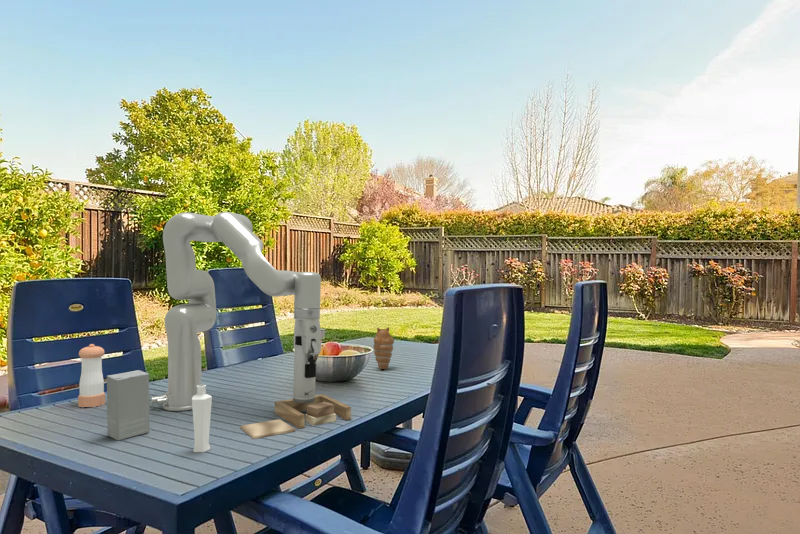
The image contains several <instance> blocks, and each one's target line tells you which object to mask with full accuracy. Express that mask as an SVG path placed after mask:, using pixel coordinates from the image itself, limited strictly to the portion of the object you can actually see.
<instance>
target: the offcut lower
mask: <svg viewBox="0 0 800 534" xmlns="http://www.w3.org/2000/svg"><path fill="white" fill-rule="evenodd" d="M334 421H336V422H337V415H336V414H335V413H333V414H330V415H326V416H322V417H319V418H315V417H312V416H309V415H307V413H305V423H307V422H308V423H307V424H309V425H311V426H312V425H315V426H319V425H318V424H321V425H324V423H326V424H330V423H329V422H332V423H335V422H334Z"/></svg>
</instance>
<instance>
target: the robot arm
mask: <svg viewBox="0 0 800 534" xmlns="http://www.w3.org/2000/svg"><path fill="white" fill-rule="evenodd" d="M253 227H254V226H253V224H252V221H251V220H250V219H249V218H248V217H247V216H246V215H244V214H240V213H235V212H231V211H221V212H218V213H217V214H216V215H207V214H202V213H201V214H200V213H196V212H195V213H194V212H180V213H176V214H175V215H173V216H172V217H170V219H169V220H167V222H166V224H165V225H164V228H163V232H162V243H163V248H164V255H165V270H166V283H167V285H166V286H167V291H168V294H169V296H170V297H172V299H175V300H182V301H186V300H188V303H181V304H177V305H175V306H173V307H171V308H170V309H169V310H168V311H167V312H166V314H165V317H164V328H165V333H166V337H167V338H166V339H167V373H168V374H167V378H168V379H167V383H168V384H167V388H168V390H167V391H165V394H162V395H159V396H158V395H157V396H151V398H150V404H157V405H158V404H162V409H163V410H165V411H169V412H171V411H172V412H173V411H174V412H181V411H182V412H183V411H191V410H192V411H193V408H192V397H193V396H195V395H196V394H197V385H202V345H201V342H200V339H199V335H198V333H202V332H206V331H209V330H211V329H212V328H213V327H214V325H215V323H216V320H217V304H216V303H217V301H216V288H215V282H214V279H213V278H212V276H211V275H210V273H209V272H207V271H206V270H202V269H197V267H196V266H197V265H196V253H195V251H194V249H193V247H192V245H191V242H192V241H195V242H204V243H205V242H206V243H218V242H219V243H223V245H225V246H226V247H227V248H228V249H229V250H230V251H231V253H233V255H235V256H236V258H238V259H239V261H240V262H241V265H242V266H241V267H242V268H243V270H244V273H245V274H246V276H247V277H248V278H249V279H250V280H251V282H253V284H255V285H256V286H257V287H258V289H259V290H260V291H262V292H263V293H264V294H265V295H267V296H270V297H273V298H275V297H286V296H293V297H294V299H293V300H294V303H293V304H294V305H293V320H295V321H294V326H293V327H294V329H293V349H294V350H295V342H296V341H295V336H302V342H301V343H302V350H303V353H304V354H305V355H306V356H305V357H306V364H305V378H313V377H316V376H317V363H318V361H317V360H318V357H319V355H320V353H321V351H322V337H321V336H322V334H321V333H322V332H321V331H322V330H321V323H320V321H321V319H320V318H321V285H322V283H321V282H322V281H321V280H322V278H321V274H320V273H318V272H315V271H299V272H298V271H293V270H284V269H283V270H282V269H281V270H280V269H279V270H278V269H276V267H274V266H273V265H272V264H271V263H270V262H269V261H268V260H267V259H266V257H265V256H264V255H263V253H262V251H263V250H264V242H263V241H262V239H260V238H259V237H258V235H256V233H254V232H253ZM309 350H312V351H313V353H309V352H308V351H309ZM309 355H312V356H310V358H309Z"/></svg>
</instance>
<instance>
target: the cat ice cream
mask: <svg viewBox="0 0 800 534" xmlns="http://www.w3.org/2000/svg"><path fill="white" fill-rule="evenodd" d="M394 343H395V339H394V338H393V337H392V335H391V334H390V327H389V326H388V327H387V328H379V327H376V334H375V337H374V339H373V347H372V349H374V351H373V354H374V356H375V361H376V363H377V367H378V368H379V369H380V370H381V369H385V370H386V369H388V368H389V364H390V362H391V358H392V356H393V353H392V352H393V350H394V347H393V344H394Z"/></svg>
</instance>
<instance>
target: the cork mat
mask: <svg viewBox="0 0 800 534" xmlns="http://www.w3.org/2000/svg"><path fill="white" fill-rule="evenodd" d="M239 428H240V429H241V430H242V431H243V432H245V434H247V435H248V436H249V437H250V438H252V439H253V440H255V439H257V440H258V439H262V438H266V437H272V436H277V435H283V434H287V433H289V434H290V433H294V432H296V428H294V427H293V426H291V425H289V424H288V423H286V422H285V421H284V420H282V419H280V418H279V419H273V420H267V421H262V422H254V423H250V424H244V425H243V424H242V425H240V427H239Z"/></svg>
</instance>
